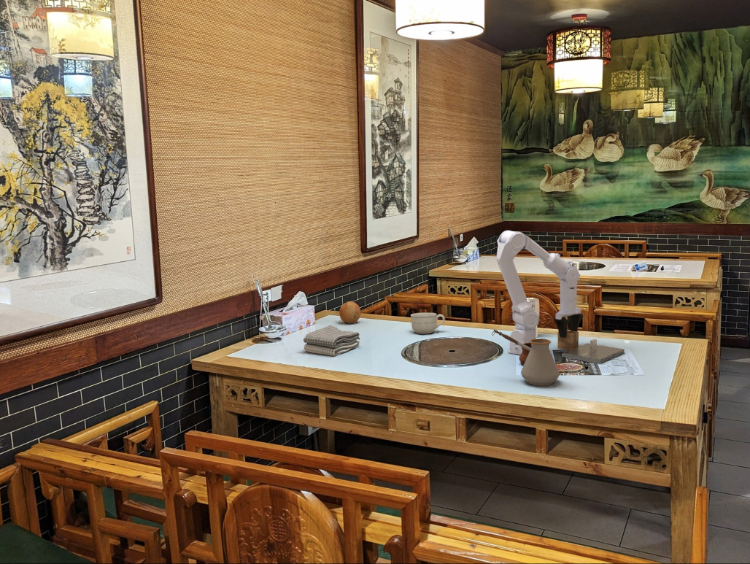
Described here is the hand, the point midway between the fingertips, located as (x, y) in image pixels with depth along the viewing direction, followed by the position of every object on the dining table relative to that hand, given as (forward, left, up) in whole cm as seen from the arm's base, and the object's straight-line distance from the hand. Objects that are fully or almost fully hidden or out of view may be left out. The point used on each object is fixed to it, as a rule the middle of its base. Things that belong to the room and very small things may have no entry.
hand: (568, 335), depth 245 cm
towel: (-55, +68, -5) cm, 87 cm away
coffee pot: (-44, -10, -5) cm, 45 cm away
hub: (-4, -12, -5) cm, 13 cm away
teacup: (-11, +58, -5) cm, 59 cm away
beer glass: (+8, +21, -5) cm, 23 cm away
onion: (-17, +99, -5) cm, 101 cm away
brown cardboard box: (0, 0, -5) cm, 5 cm away
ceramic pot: (-27, -2, -5) cm, 28 cm away
